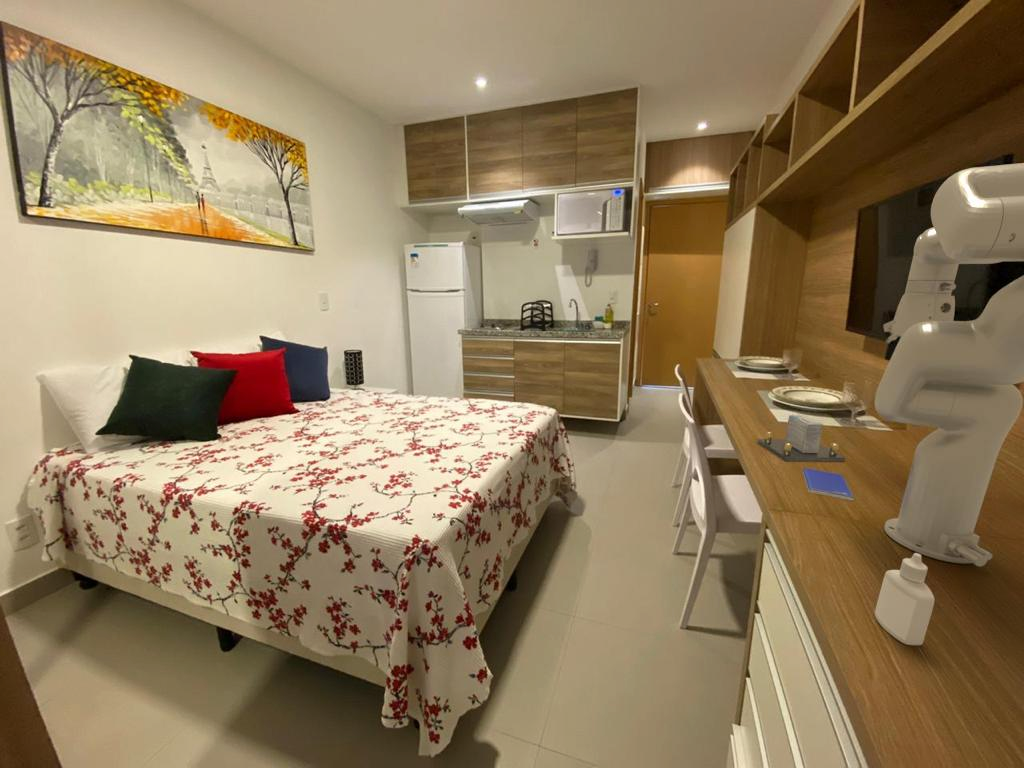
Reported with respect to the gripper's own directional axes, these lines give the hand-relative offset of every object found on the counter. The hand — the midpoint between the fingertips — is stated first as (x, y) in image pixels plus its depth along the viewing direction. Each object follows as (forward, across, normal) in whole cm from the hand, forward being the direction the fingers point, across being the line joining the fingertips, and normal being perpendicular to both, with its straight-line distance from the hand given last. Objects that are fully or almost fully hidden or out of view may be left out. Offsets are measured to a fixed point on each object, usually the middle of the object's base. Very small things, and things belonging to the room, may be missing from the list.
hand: (910, 363), depth 97 cm
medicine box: (+27, +14, +12) cm, 33 cm away
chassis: (+28, +14, +12) cm, 34 cm away
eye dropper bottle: (+28, -48, +40) cm, 69 cm away
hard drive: (+29, -6, +19) cm, 35 cm away
